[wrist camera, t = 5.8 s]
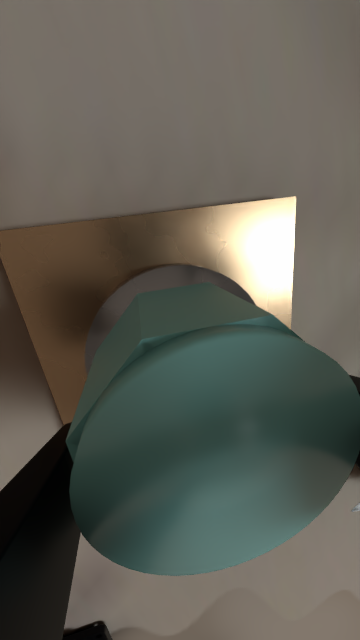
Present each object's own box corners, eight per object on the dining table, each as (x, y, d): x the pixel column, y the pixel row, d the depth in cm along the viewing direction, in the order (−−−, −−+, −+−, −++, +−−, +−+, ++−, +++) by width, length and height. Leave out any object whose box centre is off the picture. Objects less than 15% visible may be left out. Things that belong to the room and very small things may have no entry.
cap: (257, 408, 11) (345, 527, 7) (121, 442, 10) (112, 608, 6) (255, 274, 9) (386, 307, 4) (83, 302, 8) (16, 381, 3)
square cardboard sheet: (277, 406, 15) (343, 481, 10) (85, 456, 13) (59, 572, 9) (282, 200, 11) (394, 168, 6) (5, 233, 9) (-127, 223, 4)
